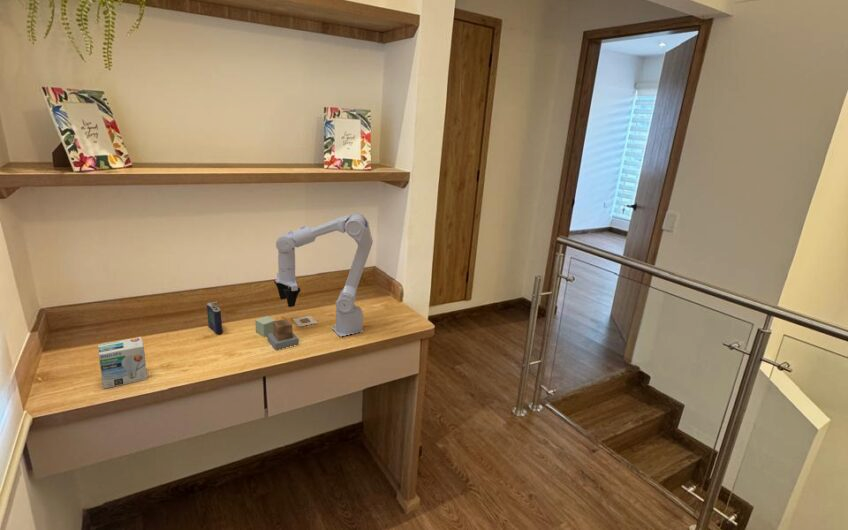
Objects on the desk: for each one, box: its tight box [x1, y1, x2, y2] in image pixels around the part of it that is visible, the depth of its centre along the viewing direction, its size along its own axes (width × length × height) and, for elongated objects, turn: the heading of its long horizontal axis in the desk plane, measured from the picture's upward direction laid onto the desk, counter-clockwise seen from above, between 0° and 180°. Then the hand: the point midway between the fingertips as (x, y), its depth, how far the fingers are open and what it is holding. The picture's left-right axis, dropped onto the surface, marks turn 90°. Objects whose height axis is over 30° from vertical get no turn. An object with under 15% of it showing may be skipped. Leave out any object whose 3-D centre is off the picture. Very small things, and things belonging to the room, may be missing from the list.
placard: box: [292, 315, 318, 328], centre depth 172 cm, size 7×7×1 cm
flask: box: [206, 301, 224, 336], centre depth 159 cm, size 9×3×11 cm, turn 43°
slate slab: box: [266, 331, 300, 351], centre depth 156 cm, size 8×8×3 cm
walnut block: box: [273, 318, 293, 341], centre depth 154 cm, size 5×5×5 cm
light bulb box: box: [97, 336, 148, 390], centre depth 128 cm, size 11×7×11 cm, turn 126°
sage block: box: [254, 315, 277, 338], centre depth 161 cm, size 5×5×5 cm
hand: (287, 302), depth 164 cm, fingers open, 7 cm apart
